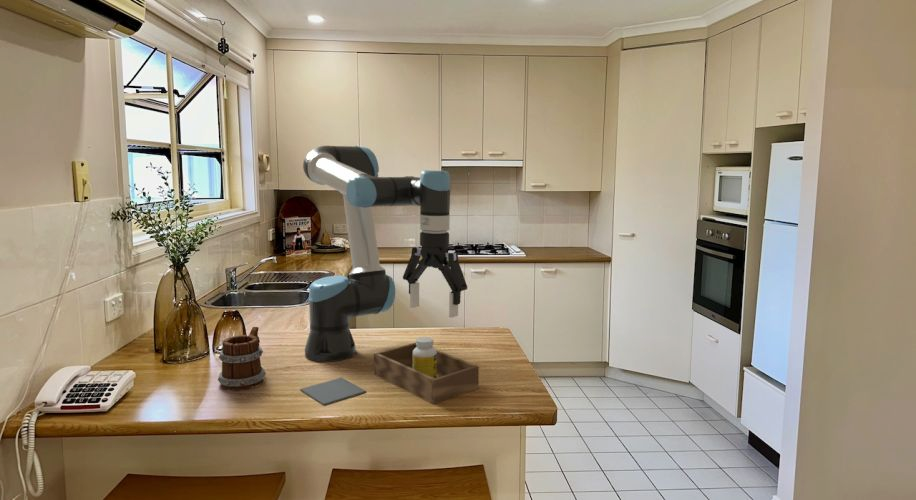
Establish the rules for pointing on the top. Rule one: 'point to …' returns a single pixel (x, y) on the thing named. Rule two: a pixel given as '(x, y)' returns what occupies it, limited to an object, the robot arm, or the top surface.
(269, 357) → the top surface
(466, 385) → the box frame
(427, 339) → the pill bottle
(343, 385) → the slate mat
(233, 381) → the mug
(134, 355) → the top surface
